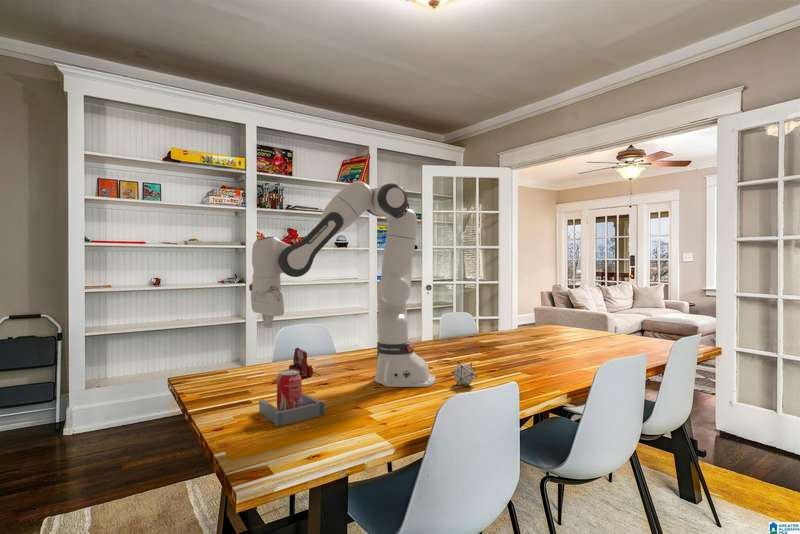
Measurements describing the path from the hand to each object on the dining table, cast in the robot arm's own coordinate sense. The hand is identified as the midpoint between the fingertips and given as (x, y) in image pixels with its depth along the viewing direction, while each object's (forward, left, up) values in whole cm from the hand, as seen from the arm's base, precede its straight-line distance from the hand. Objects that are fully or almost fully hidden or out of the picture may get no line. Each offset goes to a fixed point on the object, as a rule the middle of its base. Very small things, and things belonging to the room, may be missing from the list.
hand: (268, 327), depth 143 cm
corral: (-15, +15, -22) cm, 31 cm away
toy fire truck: (0, -25, -23) cm, 34 cm away
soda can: (-15, +15, -23) cm, 31 cm away
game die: (-63, -23, -23) cm, 71 cm away
